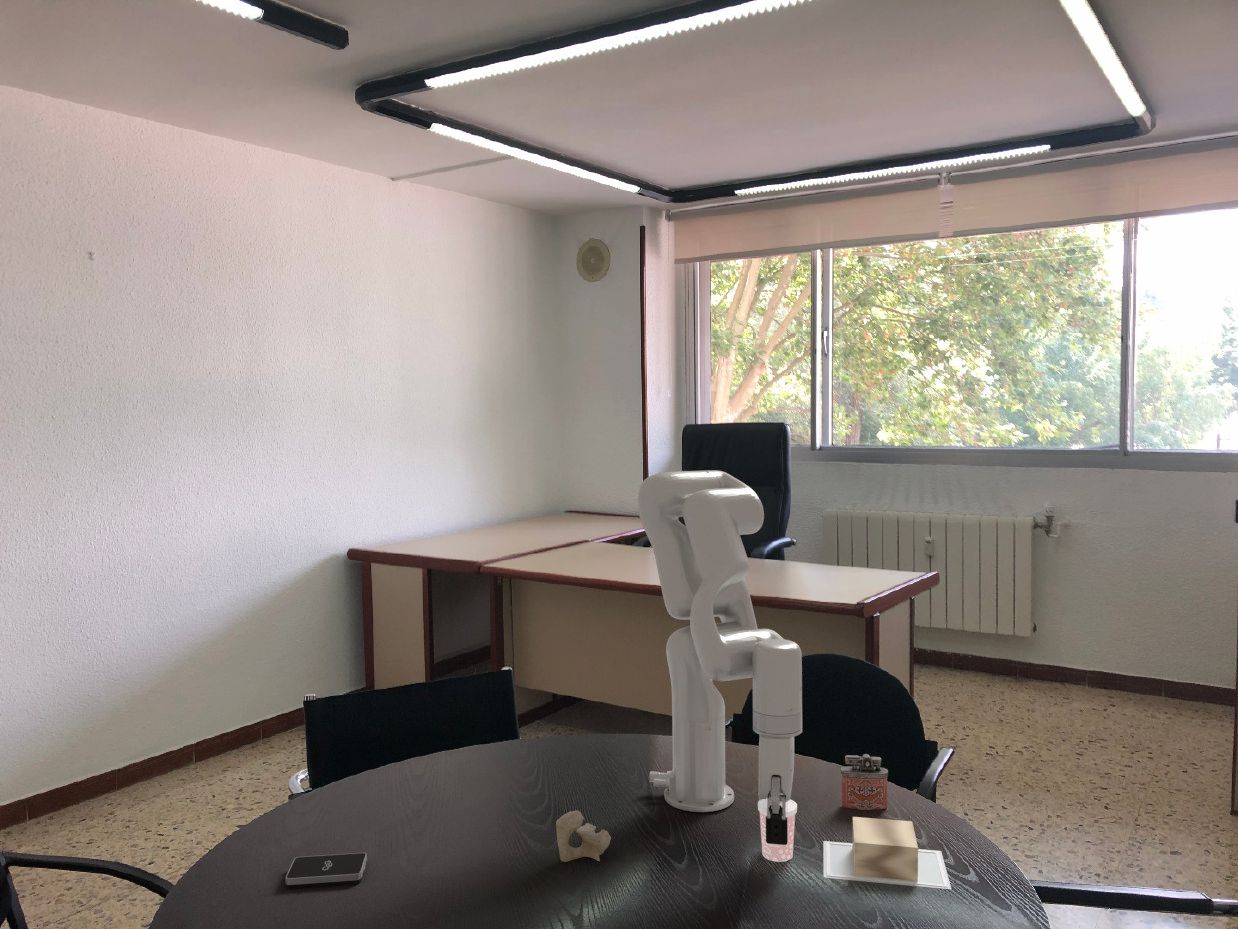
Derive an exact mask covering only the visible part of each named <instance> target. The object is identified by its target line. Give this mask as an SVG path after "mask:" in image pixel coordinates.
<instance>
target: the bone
mask: <svg viewBox="0 0 1238 929" xmlns="http://www.w3.org/2000/svg"><path fill="white" fill-rule="evenodd" d="M584 820H585V818H584V816H583V814H582V812H581V811H580V810H578V809H577V810H570V811H568V812H566V813H564V814H563V815H561V816H560V817H559V818H558V819H557V820H556V822H555V828H556V830H555V832H556V839H557V840H556V841H557V847H558V853H559V854H558V855H559V860H560V861H561V863H563V862H564V863H566V862H570V861H573V860H576V859H580V858H583V857H587V858H592V859H594V860H596V861H597V862H600V861H601V858H600V856H601V855H604V853H605V850H607V849H608V847H609V846H610V843H611V840H612V837H611V835H610V833H609V831H607V830H606V829H604V828H603V829H601V830H600V831H599V832H596V829H597V826H596V825H593V824H591V823H589V822H586V823H585V824H584V825H582V824H583V822H584ZM574 832H576V834H577V835H579V837H580V839H581V840H582V841H581V845H580V846H578V847H573V846H571V845H570V843H569V841H570V837H571V835H572V834H574Z"/></svg>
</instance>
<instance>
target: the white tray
mask: <svg viewBox="0 0 1238 929" xmlns="http://www.w3.org/2000/svg"><path fill="white" fill-rule="evenodd" d="M822 842H823V843H822V844H823V846H822V847H823V848H822V849H823V851H822V852H823V858H822V859H823V860H822V861H823V863H822V865H823V878H824V879H834V880H845V881H856V882H864V883H865V882H867V883H876V884H877V883H879V884H885V885H886V884H887V885H888V884H889V885H898V886H899V885H900V886H911V887H920V888H921V887H922V888H931V889H943V890H951V891H952V885H951V882H950V879H949V875H948V871H947V868H946V864H945V861H944V856H943V853H942V850H933V849H921V848H918V881H911V880H900V879H890V878H879V877H868V876H857V875H854V861H853V842H852V843H851V842H842V841H841V842H840V841H838V842H837V841H828V840H823V841H822Z"/></svg>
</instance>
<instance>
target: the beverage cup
mask: <svg viewBox="0 0 1238 929" xmlns="http://www.w3.org/2000/svg"><path fill="white" fill-rule="evenodd" d="M780 806H781V807H782V803H780ZM757 810H758V812H759V821H760V822H759V824H760V838H761V853H762V856H763V857H764V859H766V860H768V861H771V862H777V863H780V862H781V863H782V862H783V863H784V862H787V861H789V860H792V858H793V855H794V853H793V852H794V843H795V842H794V839H795V826H796V825H795V822H796V814H797V811H798V803H797V802H796V801H794V800H793V799H791V798H790V800H789V801H788V802H786V817H787V825H788V842H787V844H786V845H779V844H768V843H767V842H766V816H767V798H766V799H763V800H760V799H759V800H758V801H757Z"/></svg>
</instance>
